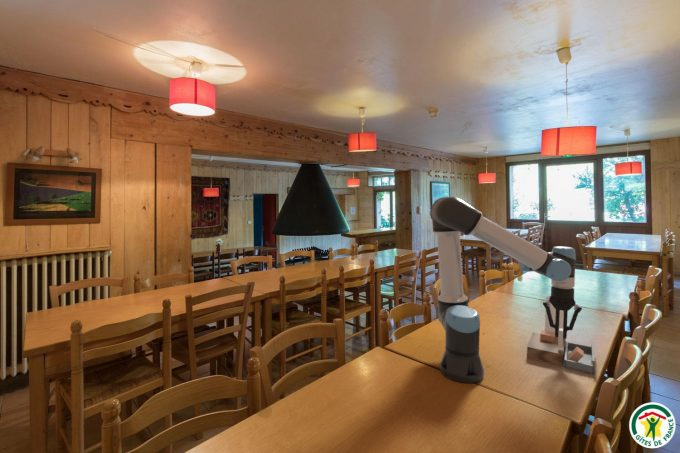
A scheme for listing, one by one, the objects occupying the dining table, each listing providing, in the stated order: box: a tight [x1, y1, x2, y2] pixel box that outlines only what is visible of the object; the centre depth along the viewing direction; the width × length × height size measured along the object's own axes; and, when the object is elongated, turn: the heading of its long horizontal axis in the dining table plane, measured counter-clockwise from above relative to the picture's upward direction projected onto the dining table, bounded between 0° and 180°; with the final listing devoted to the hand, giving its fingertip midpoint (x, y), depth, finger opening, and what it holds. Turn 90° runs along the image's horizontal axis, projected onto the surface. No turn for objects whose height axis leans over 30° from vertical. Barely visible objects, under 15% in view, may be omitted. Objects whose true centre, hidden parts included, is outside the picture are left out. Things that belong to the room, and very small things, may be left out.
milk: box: [544, 295, 567, 342], centre depth 152 cm, size 6×6×22 cm
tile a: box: [568, 347, 584, 362], centre depth 129 cm, size 5×5×2 cm
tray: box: [563, 341, 596, 375], centre depth 132 cm, size 9×20×5 cm, turn 144°
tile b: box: [539, 329, 555, 342], centre depth 142 cm, size 5×5×2 cm
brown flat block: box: [526, 332, 566, 367], centre depth 139 cm, size 12×18×4 cm, turn 144°
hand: (560, 345), depth 132 cm, fingers closed
